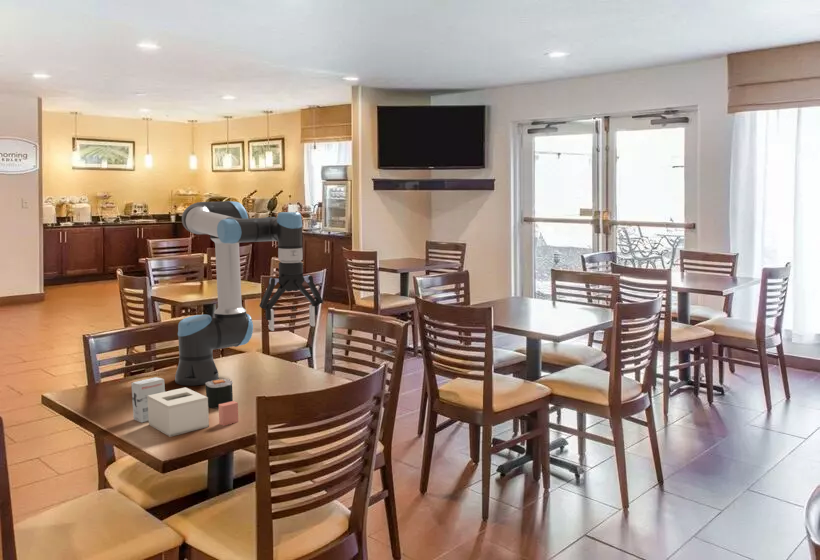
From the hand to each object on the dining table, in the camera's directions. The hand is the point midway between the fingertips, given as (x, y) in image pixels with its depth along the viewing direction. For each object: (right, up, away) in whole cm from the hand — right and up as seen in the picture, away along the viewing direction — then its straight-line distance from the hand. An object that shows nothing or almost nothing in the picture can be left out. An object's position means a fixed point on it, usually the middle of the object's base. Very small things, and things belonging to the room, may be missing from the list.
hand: (292, 327), depth 220 cm
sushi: (-25, -25, +5) cm, 36 cm away
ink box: (-42, -27, -8) cm, 51 cm away
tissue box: (-31, -28, -15) cm, 44 cm away
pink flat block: (-17, -28, -12) cm, 35 cm away
